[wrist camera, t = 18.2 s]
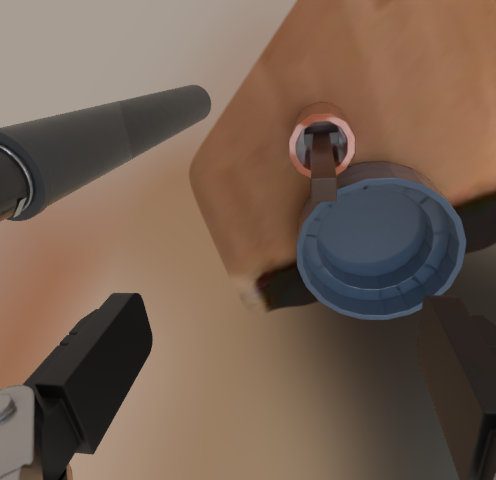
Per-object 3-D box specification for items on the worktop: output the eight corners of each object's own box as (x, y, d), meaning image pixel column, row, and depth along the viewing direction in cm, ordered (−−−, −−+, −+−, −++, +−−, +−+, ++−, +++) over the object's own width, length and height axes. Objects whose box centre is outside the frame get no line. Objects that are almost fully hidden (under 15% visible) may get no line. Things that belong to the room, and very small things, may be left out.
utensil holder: (295, 157, 38) (290, 181, 31) (292, 105, 36) (286, 116, 29) (347, 154, 37) (354, 177, 30) (347, 99, 35) (355, 111, 28)
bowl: (302, 287, 45) (300, 318, 40) (295, 165, 38) (292, 182, 33) (436, 287, 42) (453, 321, 37) (454, 155, 35) (478, 173, 30)
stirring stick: (305, 139, 36) (296, 203, 21) (304, 124, 36) (295, 179, 20) (336, 136, 36) (352, 201, 20) (336, 122, 35) (352, 176, 19)
